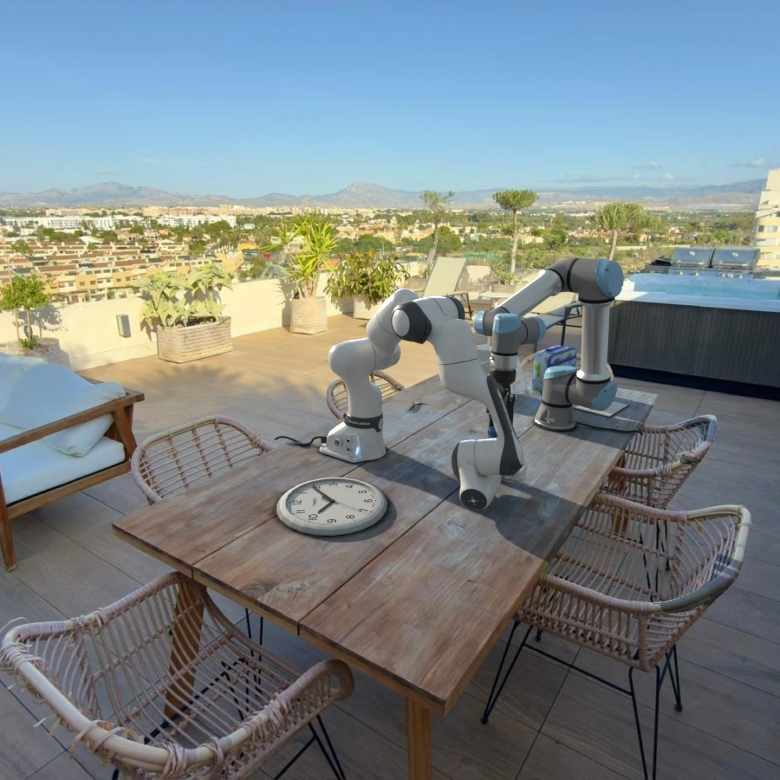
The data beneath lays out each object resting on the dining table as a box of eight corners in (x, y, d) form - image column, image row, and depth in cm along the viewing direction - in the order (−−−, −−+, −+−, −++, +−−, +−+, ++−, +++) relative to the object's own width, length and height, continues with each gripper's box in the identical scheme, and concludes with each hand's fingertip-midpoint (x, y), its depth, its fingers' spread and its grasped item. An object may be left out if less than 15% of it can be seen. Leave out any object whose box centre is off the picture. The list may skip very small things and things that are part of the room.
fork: (405, 411, 216) (405, 406, 215) (417, 400, 230) (417, 395, 230) (411, 412, 215) (411, 407, 214) (422, 400, 229) (422, 396, 229)
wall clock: (392, 527, 129) (268, 531, 127) (391, 533, 130) (269, 537, 127) (383, 473, 158) (282, 475, 155) (383, 478, 158) (282, 480, 156)
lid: (505, 430, 160) (505, 425, 159) (509, 438, 154) (510, 432, 154) (485, 430, 160) (486, 425, 159) (489, 437, 154) (490, 432, 154)
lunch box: (548, 398, 236) (553, 353, 229) (527, 393, 243) (531, 349, 237) (575, 387, 253) (581, 344, 247) (555, 382, 260) (560, 341, 254)
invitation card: (608, 416, 214) (573, 407, 224) (608, 416, 214) (573, 408, 224) (628, 404, 229) (594, 396, 238) (628, 405, 229) (594, 397, 238)
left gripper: (524, 471, 143) (531, 452, 156) (452, 458, 151) (464, 441, 163) (522, 492, 145) (529, 471, 157) (451, 478, 152) (463, 460, 165)
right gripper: (478, 360, 159) (473, 431, 166) (505, 377, 141) (498, 455, 148) (501, 359, 160) (495, 429, 167) (530, 375, 143) (522, 453, 150)
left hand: (496, 456), depth 160 cm, fingers closed on jar, 5 cm apart
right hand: (496, 441), depth 158 cm, fingers closed on lid, 6 cm apart
